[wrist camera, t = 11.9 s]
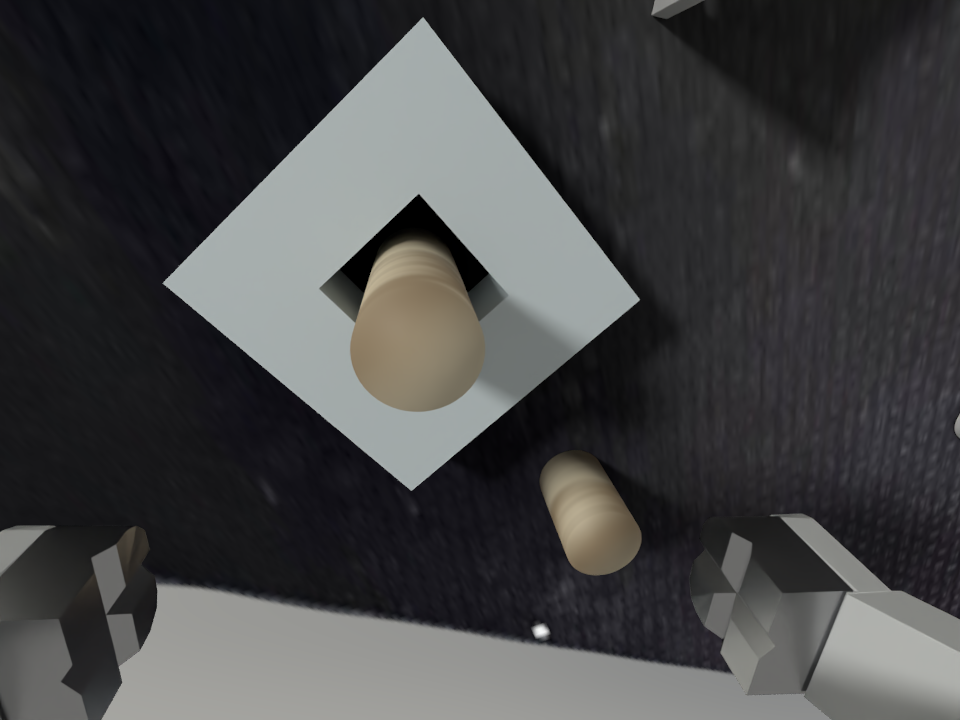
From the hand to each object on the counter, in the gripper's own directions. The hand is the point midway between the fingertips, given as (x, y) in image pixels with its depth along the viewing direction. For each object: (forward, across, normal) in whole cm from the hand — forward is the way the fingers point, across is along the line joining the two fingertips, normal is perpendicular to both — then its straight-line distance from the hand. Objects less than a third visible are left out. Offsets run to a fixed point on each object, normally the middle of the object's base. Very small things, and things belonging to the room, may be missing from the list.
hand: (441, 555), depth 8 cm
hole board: (+21, 0, 0) cm, 21 cm away
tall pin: (+21, 0, 0) cm, 21 cm away
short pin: (+21, -9, +13) cm, 26 cm away
